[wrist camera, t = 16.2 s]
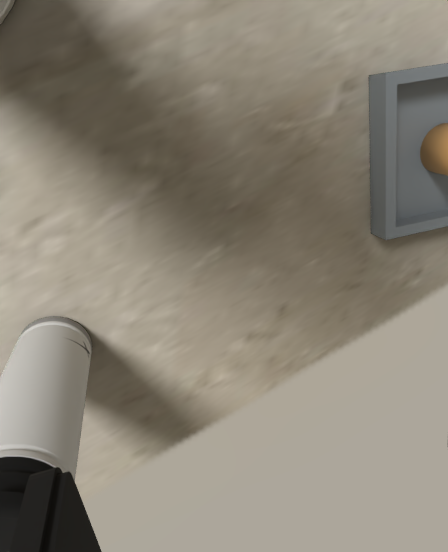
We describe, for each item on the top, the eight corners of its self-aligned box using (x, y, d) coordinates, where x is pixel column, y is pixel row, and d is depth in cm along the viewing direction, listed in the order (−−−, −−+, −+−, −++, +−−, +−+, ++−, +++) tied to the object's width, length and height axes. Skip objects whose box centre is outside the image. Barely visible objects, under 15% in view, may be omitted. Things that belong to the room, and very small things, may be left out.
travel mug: (99, 318, 38) (77, 506, 19) (85, 380, 40) (52, 606, 21) (24, 305, 36) (-78, 501, 18) (12, 371, 38) (-91, 611, 19)
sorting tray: (368, 75, 36) (385, 72, 33) (511, 53, 38) (536, 48, 35) (371, 233, 41) (385, 240, 39) (495, 205, 43) (516, 210, 41)
